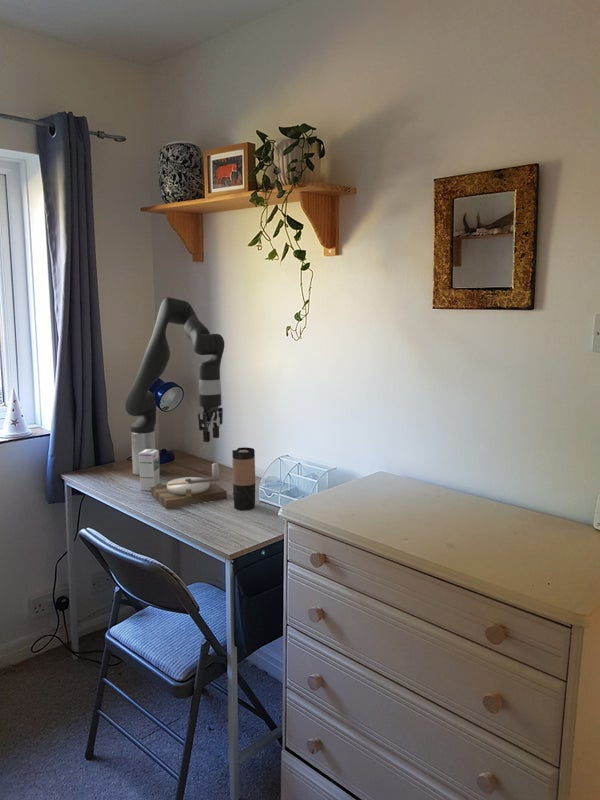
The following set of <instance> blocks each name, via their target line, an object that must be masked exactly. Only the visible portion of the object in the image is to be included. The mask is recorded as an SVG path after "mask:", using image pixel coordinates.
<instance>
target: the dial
mask: <svg viewBox="0 0 600 800" xmlns="http://www.w3.org/2000/svg"><path fill="white" fill-rule="evenodd" d="M219 467H220V465H219V463H215V462H214V463H212V464H211V477H205V478H203V477H198V476H197V477H196V476H195V477H194V476H188V477H180V478H174V479H172V480H169V481H168V482H166V485H167V491H168V492H170V493H172V494H178V495H186V489H191V494H198V493H202V492H205V491H207V490H208V489H209V481H213V482H218V481H220V469H219Z"/></svg>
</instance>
